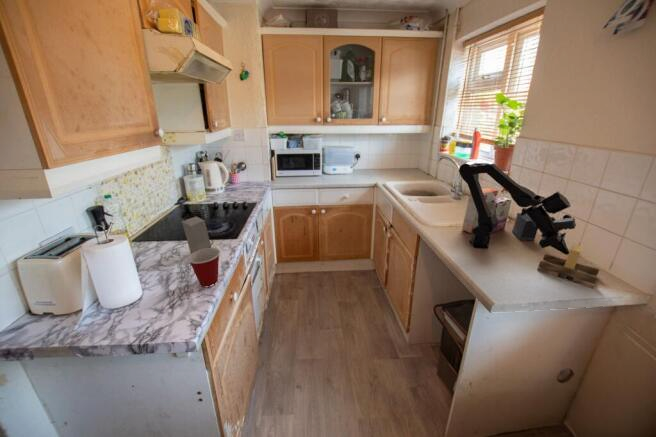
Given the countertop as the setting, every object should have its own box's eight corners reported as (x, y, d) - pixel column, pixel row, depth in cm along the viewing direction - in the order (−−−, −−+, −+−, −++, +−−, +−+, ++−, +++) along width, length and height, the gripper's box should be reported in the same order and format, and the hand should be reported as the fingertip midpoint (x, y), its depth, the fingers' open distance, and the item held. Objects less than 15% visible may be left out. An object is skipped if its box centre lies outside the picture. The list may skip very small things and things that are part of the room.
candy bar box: (495, 226, 154) (503, 196, 147) (504, 229, 149) (512, 199, 143) (481, 229, 149) (488, 199, 143) (490, 233, 145) (497, 202, 139)
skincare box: (213, 254, 125) (207, 220, 119) (196, 260, 120) (189, 225, 114) (204, 247, 130) (198, 215, 124) (188, 253, 125) (181, 219, 119)
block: (562, 271, 111) (570, 249, 107) (564, 265, 115) (572, 244, 111) (572, 274, 109) (580, 252, 105) (574, 268, 113) (582, 246, 109)
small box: (535, 242, 136) (541, 221, 132) (519, 241, 138) (525, 220, 134) (525, 232, 146) (531, 213, 142) (511, 231, 147) (516, 212, 143)
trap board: (537, 269, 114) (539, 261, 113) (543, 259, 122) (545, 252, 120) (593, 288, 103) (596, 279, 102) (596, 276, 111) (599, 267, 109)
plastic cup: (211, 271, 112) (206, 244, 108) (230, 279, 107) (226, 251, 103) (186, 286, 104) (179, 256, 99) (206, 295, 99) (200, 265, 94)
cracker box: (471, 234, 144) (480, 193, 135) (461, 229, 148) (469, 190, 140) (489, 228, 150) (499, 189, 142) (479, 224, 155) (487, 186, 147)
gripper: (559, 216, 101) (589, 254, 98) (568, 203, 114) (595, 237, 111) (527, 229, 110) (554, 266, 107) (538, 216, 122) (563, 248, 119)
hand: (567, 254), depth 110 cm, fingers closed, pressing on block
